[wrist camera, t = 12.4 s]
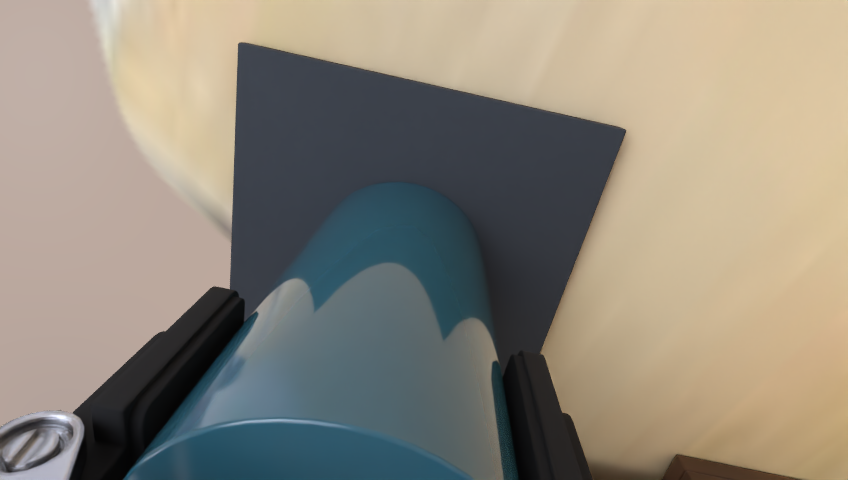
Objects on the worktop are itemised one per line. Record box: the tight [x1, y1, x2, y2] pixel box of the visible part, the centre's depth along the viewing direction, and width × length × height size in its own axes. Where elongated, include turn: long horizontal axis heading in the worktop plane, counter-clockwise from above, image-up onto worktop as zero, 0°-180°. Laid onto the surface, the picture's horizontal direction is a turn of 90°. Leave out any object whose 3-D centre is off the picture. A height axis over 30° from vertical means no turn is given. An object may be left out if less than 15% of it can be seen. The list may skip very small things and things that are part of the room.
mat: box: [230, 43, 626, 375], centre depth 17 cm, size 13×13×1 cm
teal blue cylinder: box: [123, 182, 520, 480], centre depth 12 cm, size 8×6×11 cm
